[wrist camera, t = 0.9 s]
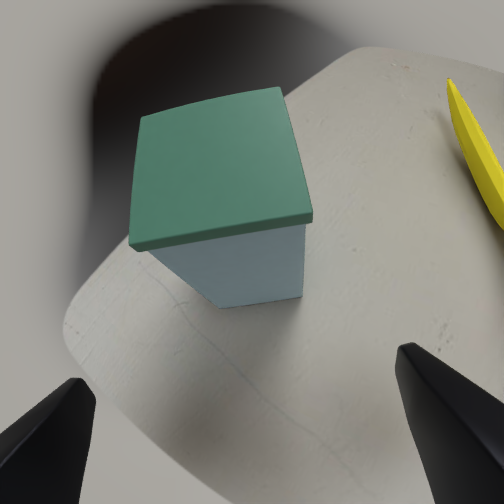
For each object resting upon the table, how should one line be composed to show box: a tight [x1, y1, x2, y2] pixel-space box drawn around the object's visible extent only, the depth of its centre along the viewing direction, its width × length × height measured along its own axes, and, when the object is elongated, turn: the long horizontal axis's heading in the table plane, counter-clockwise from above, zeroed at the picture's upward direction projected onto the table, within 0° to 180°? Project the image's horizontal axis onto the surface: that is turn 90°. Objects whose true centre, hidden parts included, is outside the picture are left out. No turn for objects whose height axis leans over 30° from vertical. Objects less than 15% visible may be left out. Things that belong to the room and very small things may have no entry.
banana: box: [447, 78, 504, 230], centre depth 20 cm, size 3×19×6 cm, turn 12°
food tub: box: [129, 87, 313, 309], centre depth 17 cm, size 6×6×13 cm
